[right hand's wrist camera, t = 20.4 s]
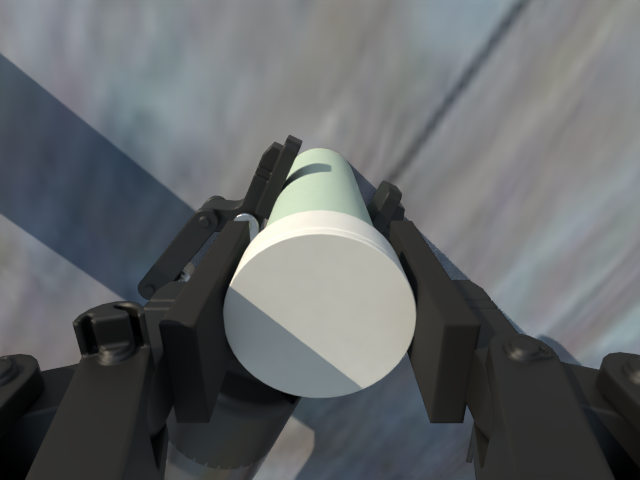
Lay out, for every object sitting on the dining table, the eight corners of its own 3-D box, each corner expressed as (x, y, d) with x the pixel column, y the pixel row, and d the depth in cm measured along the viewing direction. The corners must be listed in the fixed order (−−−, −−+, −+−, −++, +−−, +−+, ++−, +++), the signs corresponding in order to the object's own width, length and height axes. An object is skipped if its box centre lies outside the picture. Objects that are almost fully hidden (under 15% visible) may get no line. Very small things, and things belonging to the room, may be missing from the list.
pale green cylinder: (362, 158, 25) (420, 256, 10) (343, 222, 26) (370, 383, 12) (294, 139, 24) (258, 216, 10) (278, 206, 26) (229, 353, 12)
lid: (371, 370, 13) (379, 414, 12) (223, 335, 13) (206, 376, 11) (427, 235, 11) (448, 263, 10) (257, 188, 11) (244, 208, 9)
